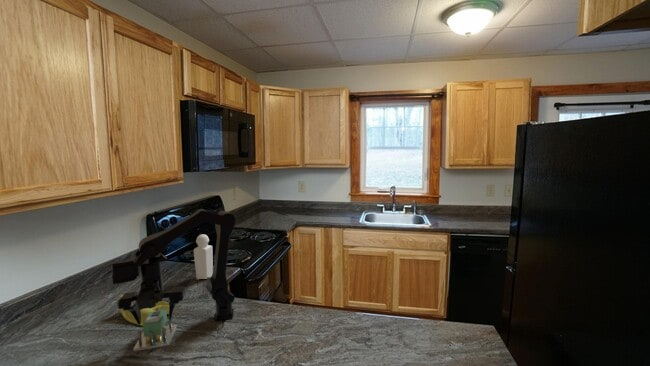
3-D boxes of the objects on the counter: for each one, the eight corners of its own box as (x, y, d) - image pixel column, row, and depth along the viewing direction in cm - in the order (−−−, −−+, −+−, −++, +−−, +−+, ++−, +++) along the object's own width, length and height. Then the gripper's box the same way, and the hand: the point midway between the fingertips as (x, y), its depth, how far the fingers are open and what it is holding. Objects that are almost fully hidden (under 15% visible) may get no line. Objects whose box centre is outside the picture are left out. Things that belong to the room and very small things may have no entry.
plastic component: (177, 305, 114) (157, 306, 105) (170, 325, 112) (149, 328, 103) (139, 295, 120) (117, 294, 111) (132, 314, 118) (109, 315, 109)
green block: (150, 323, 100) (149, 309, 100) (167, 320, 102) (166, 306, 101) (143, 336, 93) (142, 321, 92) (161, 333, 94) (160, 319, 94)
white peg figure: (207, 280, 142) (204, 236, 140) (195, 279, 143) (192, 236, 141) (214, 275, 148) (212, 232, 146) (202, 274, 149) (200, 232, 147)
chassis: (145, 331, 101) (143, 316, 101) (176, 326, 104) (175, 312, 103) (133, 351, 91) (131, 335, 90) (168, 345, 93) (167, 329, 93)
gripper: (107, 291, 85) (112, 341, 87) (177, 282, 90) (180, 330, 91) (122, 276, 96) (126, 321, 97) (184, 269, 101) (187, 312, 102)
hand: (155, 321), depth 97 cm, fingers open, 9 cm apart
